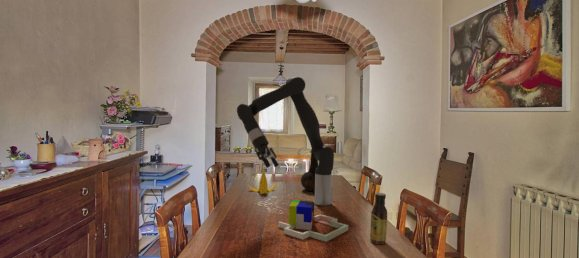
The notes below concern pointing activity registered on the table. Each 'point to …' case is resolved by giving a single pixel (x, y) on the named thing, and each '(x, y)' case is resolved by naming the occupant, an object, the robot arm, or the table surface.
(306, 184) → the glass bottle
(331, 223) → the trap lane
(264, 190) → the banana peel
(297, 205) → the puzzle toy
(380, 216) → the sauce bottle
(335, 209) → the table surface
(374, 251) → the table surface
